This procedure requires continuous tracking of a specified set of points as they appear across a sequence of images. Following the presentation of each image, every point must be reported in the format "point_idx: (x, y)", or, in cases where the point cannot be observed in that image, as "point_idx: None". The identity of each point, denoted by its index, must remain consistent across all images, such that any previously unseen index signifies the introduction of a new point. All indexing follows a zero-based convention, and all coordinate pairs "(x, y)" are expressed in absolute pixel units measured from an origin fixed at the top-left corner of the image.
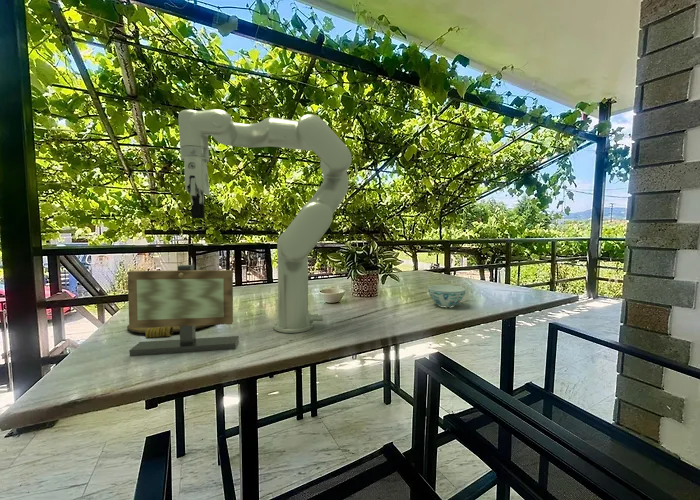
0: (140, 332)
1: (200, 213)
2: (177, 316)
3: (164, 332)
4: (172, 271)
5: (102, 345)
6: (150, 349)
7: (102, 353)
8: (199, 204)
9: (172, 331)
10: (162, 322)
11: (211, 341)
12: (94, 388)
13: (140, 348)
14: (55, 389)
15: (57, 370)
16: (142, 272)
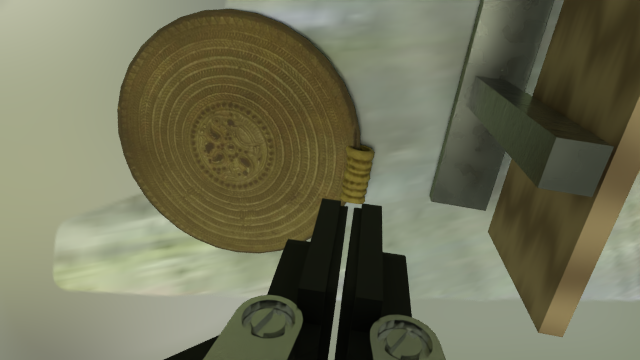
0: None
1: (383, 256)
2: None
3: (371, 162)
4: (622, 204)
5: None
6: (498, 170)
7: (436, 255)
8: (412, 339)
9: (359, 144)
10: None
11: (513, 30)
12: (635, 223)
13: (484, 191)
14: (600, 275)
15: (502, 297)
16: (579, 296)
